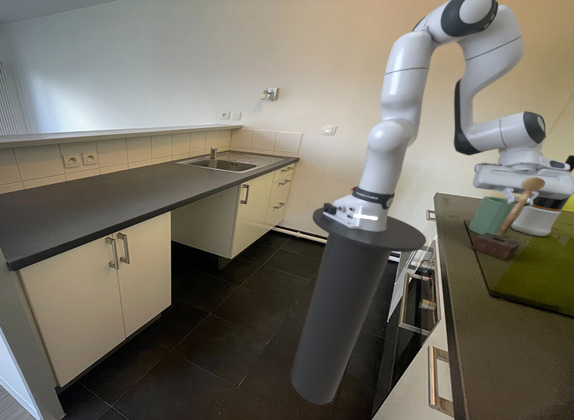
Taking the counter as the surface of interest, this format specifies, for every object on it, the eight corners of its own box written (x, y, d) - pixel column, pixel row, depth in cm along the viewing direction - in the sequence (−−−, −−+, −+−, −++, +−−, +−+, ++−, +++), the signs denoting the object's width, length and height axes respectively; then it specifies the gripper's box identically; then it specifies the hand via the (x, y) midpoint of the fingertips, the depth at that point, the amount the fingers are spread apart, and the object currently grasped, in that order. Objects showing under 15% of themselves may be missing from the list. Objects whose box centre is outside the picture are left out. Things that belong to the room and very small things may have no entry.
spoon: (492, 234, 78) (528, 177, 70) (489, 232, 80) (525, 175, 71) (509, 238, 77) (549, 179, 68) (507, 236, 78) (545, 178, 69)
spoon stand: (471, 248, 82) (477, 236, 80) (480, 243, 85) (486, 232, 83) (505, 260, 75) (512, 247, 74) (513, 255, 79) (521, 242, 77)
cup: (464, 228, 96) (479, 198, 91) (473, 225, 100) (489, 195, 95) (498, 239, 89) (517, 206, 84) (507, 235, 93) (526, 203, 88)
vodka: (508, 229, 97) (553, 154, 86) (511, 224, 102) (553, 152, 91) (546, 239, 90) (600, 158, 79) (547, 233, 95) (598, 156, 84)
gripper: (481, 156, 79) (479, 192, 75) (578, 165, 70) (583, 207, 66) (469, 167, 85) (467, 201, 81) (558, 177, 76) (561, 216, 72)
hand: (520, 204), depth 73 cm, fingers closed on spoon, 1 cm apart
